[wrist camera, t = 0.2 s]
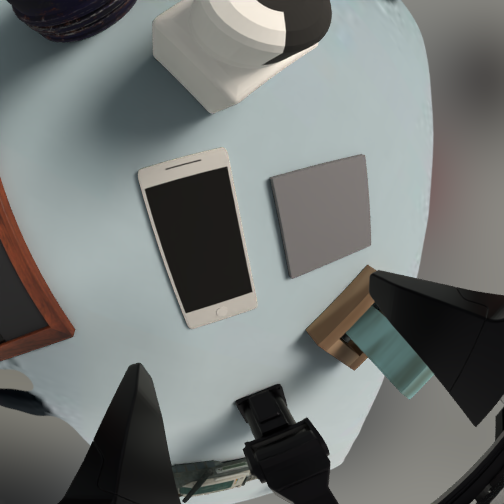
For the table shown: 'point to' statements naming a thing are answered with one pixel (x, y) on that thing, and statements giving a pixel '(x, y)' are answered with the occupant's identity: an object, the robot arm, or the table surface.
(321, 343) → the pocket block
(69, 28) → the storage jar
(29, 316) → the picture frame
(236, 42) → the medicine bottle
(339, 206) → the mat
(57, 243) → the table surface
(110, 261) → the table surface
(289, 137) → the table surface
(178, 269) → the smartphone
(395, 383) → the peg
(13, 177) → the table surface
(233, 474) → the communication device
